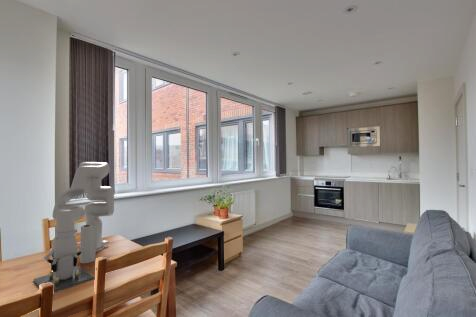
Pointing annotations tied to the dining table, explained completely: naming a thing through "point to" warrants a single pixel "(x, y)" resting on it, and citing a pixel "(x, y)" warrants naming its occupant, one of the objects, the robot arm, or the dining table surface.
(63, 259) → the can
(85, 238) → the paper towel roll
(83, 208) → the robot arm
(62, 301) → the dining table surface
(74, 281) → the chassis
